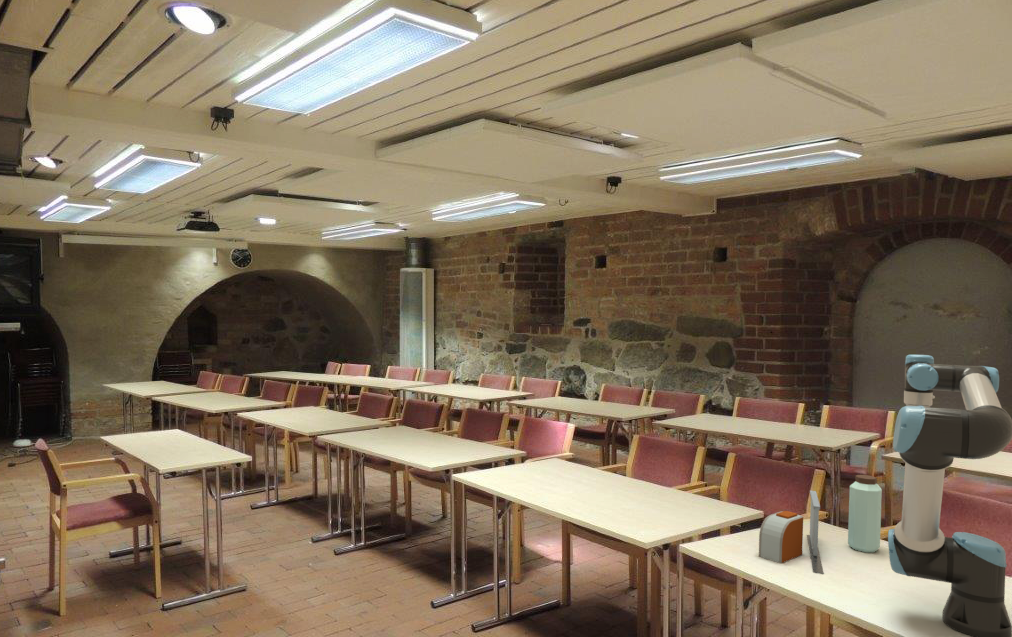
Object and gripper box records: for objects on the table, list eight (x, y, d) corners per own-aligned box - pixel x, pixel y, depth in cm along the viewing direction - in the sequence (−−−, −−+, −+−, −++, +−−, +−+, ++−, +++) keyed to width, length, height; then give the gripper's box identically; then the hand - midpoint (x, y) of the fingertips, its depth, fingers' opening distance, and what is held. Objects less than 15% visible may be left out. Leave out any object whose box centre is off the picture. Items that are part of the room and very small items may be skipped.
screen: (818, 556, 232) (820, 506, 232) (812, 555, 233) (813, 506, 233) (814, 536, 253) (815, 491, 253) (808, 535, 254) (809, 490, 253)
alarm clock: (780, 547, 243) (781, 508, 243) (804, 554, 236) (805, 514, 236) (757, 555, 233) (758, 515, 233) (781, 563, 227) (782, 521, 226)
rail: (823, 573, 218) (823, 573, 218) (813, 572, 219) (813, 571, 219) (815, 536, 255) (815, 535, 255) (806, 535, 256) (806, 534, 256)
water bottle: (841, 545, 246) (843, 474, 245) (860, 542, 250) (863, 472, 249) (866, 555, 236) (868, 481, 236) (886, 551, 241) (888, 479, 240)
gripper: (937, 409, 205) (934, 489, 205) (927, 403, 217) (925, 479, 218) (908, 407, 208) (905, 486, 208) (900, 402, 220) (897, 476, 220)
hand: (915, 482), depth 213 cm, fingers closed
